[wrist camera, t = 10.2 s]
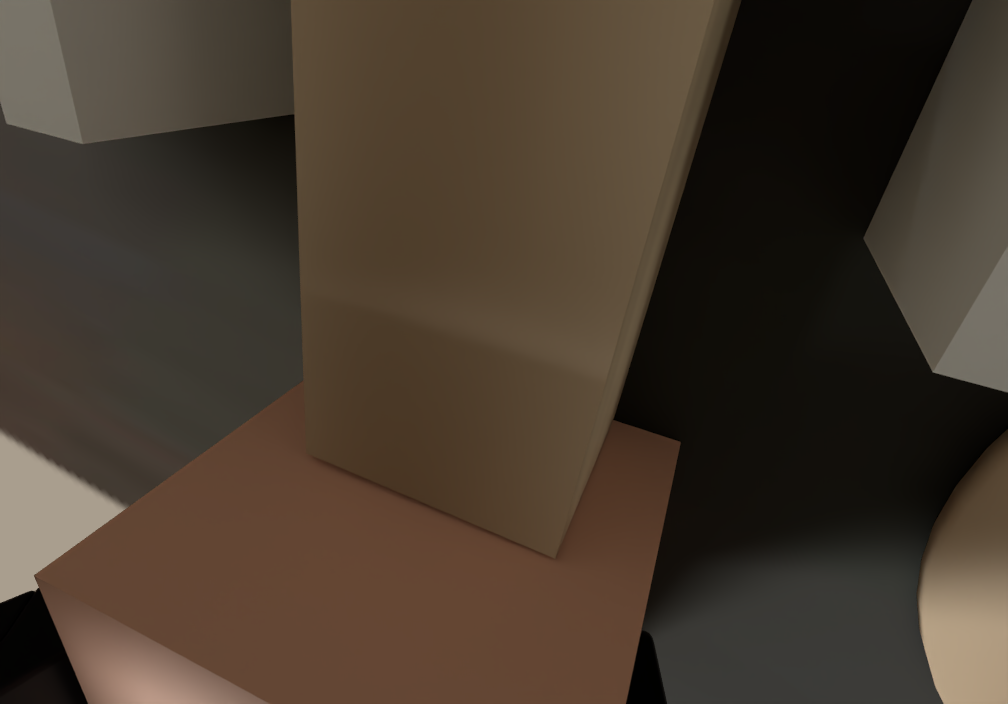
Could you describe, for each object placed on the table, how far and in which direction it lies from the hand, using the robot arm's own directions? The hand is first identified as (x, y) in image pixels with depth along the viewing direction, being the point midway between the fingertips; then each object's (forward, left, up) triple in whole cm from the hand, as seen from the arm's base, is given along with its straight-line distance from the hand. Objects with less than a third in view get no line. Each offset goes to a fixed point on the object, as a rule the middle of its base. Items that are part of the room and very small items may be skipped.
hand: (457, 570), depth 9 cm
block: (0, 0, -1) cm, 1 cm away
